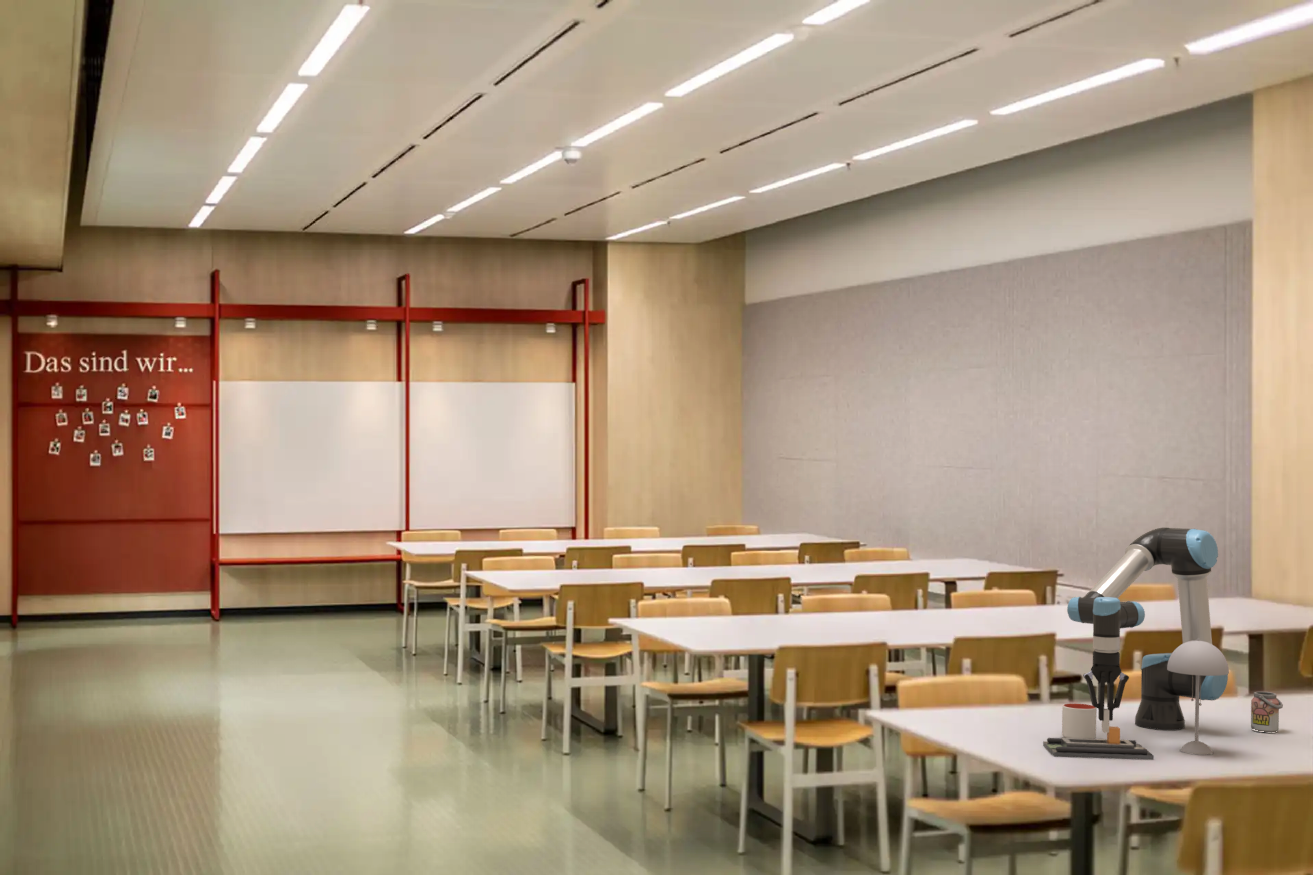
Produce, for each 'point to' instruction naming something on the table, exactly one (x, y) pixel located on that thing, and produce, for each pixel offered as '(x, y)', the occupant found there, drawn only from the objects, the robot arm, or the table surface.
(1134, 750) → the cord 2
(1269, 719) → the paint can
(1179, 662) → the lamp
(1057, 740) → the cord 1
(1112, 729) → the toggle
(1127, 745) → the panel
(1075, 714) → the cup
